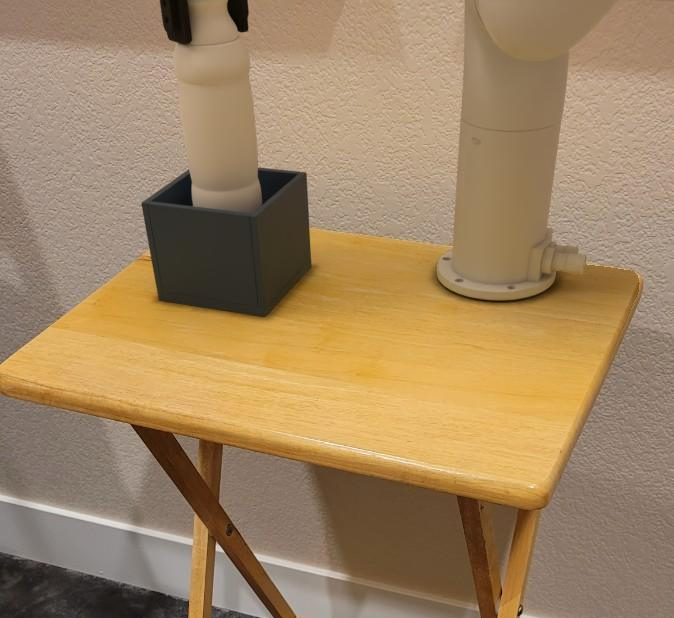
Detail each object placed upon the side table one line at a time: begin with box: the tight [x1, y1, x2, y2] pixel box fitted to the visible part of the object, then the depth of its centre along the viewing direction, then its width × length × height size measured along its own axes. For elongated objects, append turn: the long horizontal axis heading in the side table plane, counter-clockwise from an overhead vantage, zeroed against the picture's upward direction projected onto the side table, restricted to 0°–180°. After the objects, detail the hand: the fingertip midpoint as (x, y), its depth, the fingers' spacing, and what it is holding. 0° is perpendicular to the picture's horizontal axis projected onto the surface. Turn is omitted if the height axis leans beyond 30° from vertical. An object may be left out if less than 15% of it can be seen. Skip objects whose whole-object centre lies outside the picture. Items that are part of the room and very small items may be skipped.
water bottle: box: [172, 0, 262, 214], centre depth 84 cm, size 7×7×25 cm
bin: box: [140, 166, 313, 318], centre depth 92 cm, size 12×12×10 cm
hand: (208, 33), depth 79 cm, fingers closed on water bottle, 5 cm apart
